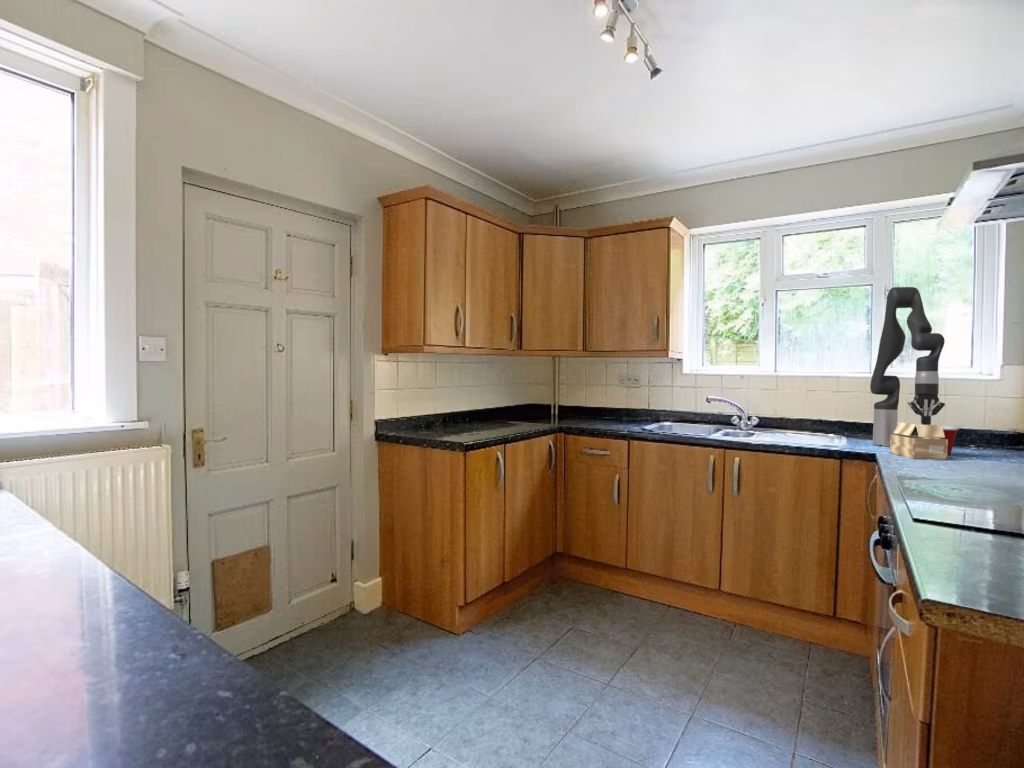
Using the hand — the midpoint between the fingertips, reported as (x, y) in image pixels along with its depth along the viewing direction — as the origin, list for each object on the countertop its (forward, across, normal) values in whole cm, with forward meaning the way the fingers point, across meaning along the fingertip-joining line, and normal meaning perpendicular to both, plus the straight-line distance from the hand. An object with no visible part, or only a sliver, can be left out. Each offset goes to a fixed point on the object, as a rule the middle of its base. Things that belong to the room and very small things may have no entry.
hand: (925, 425), depth 213 cm
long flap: (+2, +8, 0) cm, 8 cm away
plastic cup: (+13, -12, -10) cm, 20 cm away
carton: (+13, +3, 0) cm, 13 cm away
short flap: (+2, +2, +7) cm, 8 cm away
